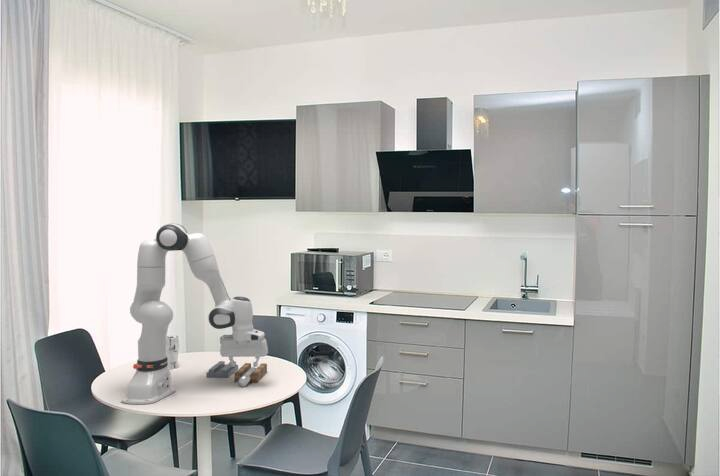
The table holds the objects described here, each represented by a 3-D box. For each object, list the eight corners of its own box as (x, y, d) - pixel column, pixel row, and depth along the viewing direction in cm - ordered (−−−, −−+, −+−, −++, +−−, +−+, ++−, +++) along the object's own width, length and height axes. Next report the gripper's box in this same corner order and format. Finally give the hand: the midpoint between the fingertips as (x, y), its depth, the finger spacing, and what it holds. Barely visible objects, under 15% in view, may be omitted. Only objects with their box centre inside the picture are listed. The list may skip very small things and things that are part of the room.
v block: (228, 380, 251) (227, 370, 251) (206, 379, 252) (206, 369, 252) (238, 370, 265) (238, 361, 265) (217, 370, 266) (217, 361, 266)
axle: (245, 388, 238) (247, 379, 238) (236, 385, 238) (238, 376, 238) (256, 376, 254) (258, 368, 253) (248, 374, 254) (250, 366, 254)
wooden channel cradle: (256, 385, 244) (256, 373, 243) (234, 384, 245) (234, 373, 245) (267, 374, 260) (266, 363, 259) (245, 373, 261) (245, 363, 260)
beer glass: (174, 364, 277) (173, 334, 276) (182, 367, 272) (181, 336, 272) (161, 368, 271) (160, 337, 271) (169, 370, 267) (168, 339, 266)
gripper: (217, 336, 238) (218, 368, 239) (264, 336, 236) (265, 368, 237) (222, 333, 244) (223, 364, 245) (268, 332, 242) (269, 364, 243)
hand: (244, 366), depth 241 cm, fingers open, 8 cm apart
